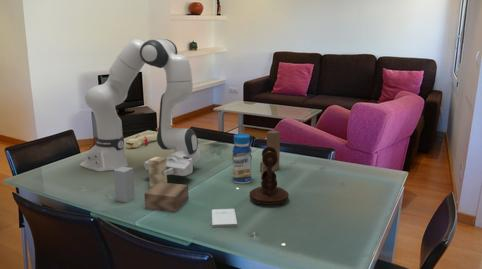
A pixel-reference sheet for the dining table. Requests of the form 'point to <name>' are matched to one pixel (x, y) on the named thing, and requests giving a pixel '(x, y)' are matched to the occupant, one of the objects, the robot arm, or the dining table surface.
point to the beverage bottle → (241, 159)
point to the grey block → (124, 184)
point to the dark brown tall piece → (269, 182)
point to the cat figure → (141, 140)
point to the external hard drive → (224, 218)
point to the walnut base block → (166, 196)
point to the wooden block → (274, 142)
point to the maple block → (157, 170)
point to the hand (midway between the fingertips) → (156, 172)
